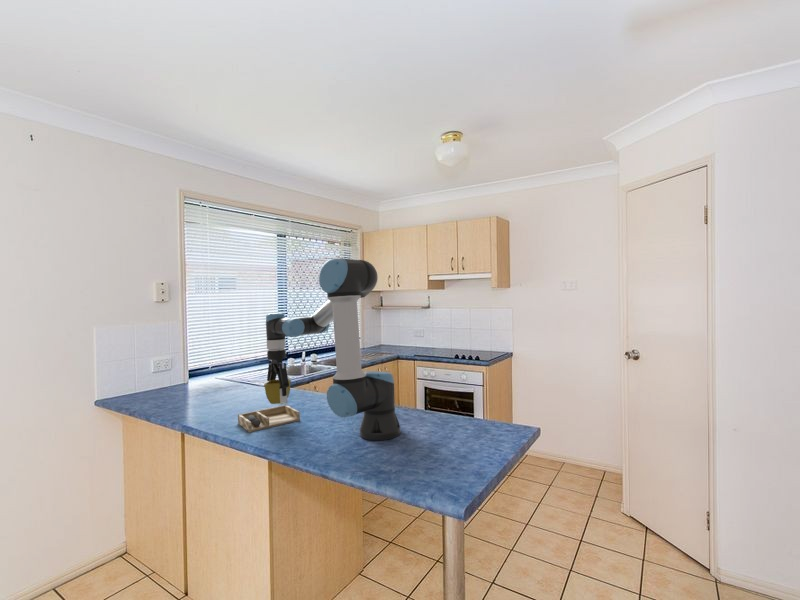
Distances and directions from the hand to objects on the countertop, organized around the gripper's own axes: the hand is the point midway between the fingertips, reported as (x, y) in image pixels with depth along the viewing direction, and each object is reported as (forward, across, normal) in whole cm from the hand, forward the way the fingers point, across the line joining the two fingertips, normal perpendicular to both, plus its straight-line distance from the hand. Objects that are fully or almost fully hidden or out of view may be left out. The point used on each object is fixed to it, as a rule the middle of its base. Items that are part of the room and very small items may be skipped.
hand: (278, 400), depth 168 cm
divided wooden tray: (+9, +2, +4) cm, 10 cm away
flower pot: (+1, 0, 0) cm, 1 cm away
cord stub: (+8, +2, +10) cm, 13 cm away
